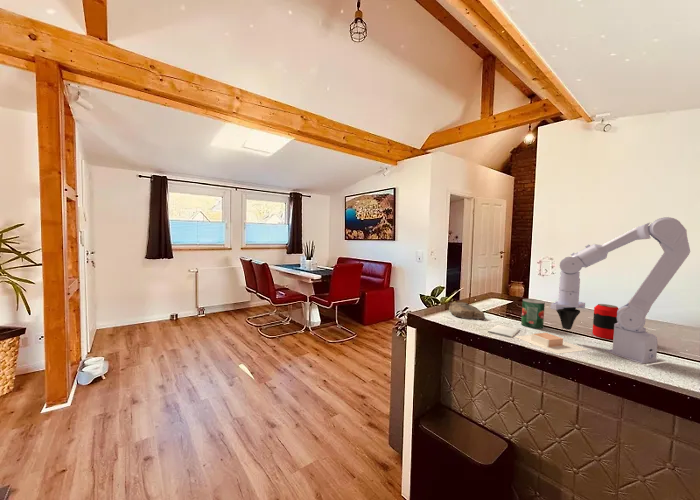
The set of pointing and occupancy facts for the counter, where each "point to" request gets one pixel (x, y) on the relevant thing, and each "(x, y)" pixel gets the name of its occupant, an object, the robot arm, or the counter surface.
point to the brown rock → (465, 311)
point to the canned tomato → (533, 313)
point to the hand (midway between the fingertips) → (566, 328)
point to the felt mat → (556, 349)
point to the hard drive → (504, 331)
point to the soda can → (604, 320)
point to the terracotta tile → (547, 339)
